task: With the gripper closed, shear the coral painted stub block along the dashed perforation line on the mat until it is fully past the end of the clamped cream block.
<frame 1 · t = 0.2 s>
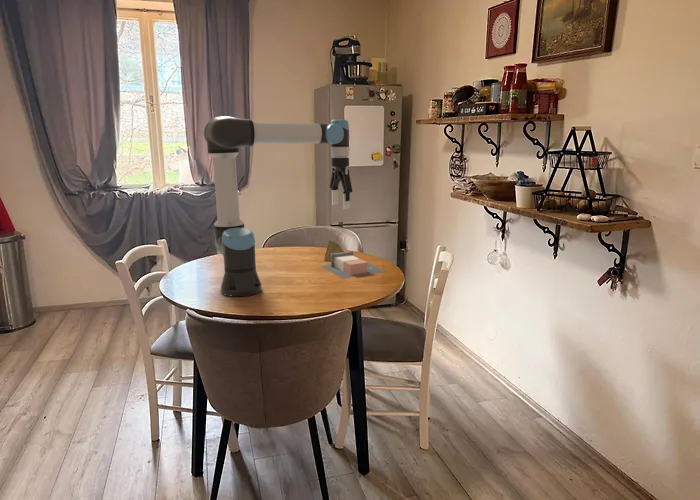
hand: (340, 206, 217), 27 cm above the table, fingers open, 13 cm apart
mat: (352, 270, 218), on the table
stub: (355, 272, 212), point 1 cm above the table, touching mat
clamped cream block: (345, 267, 220), resting on mat
rock: (336, 262, 234), on the table
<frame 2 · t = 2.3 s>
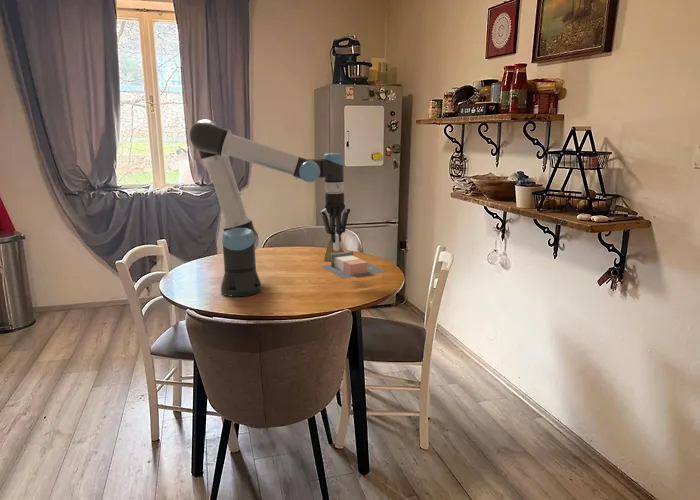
hand: (336, 249, 205), 12 cm above the table, fingers closed
nothing on the table moved.
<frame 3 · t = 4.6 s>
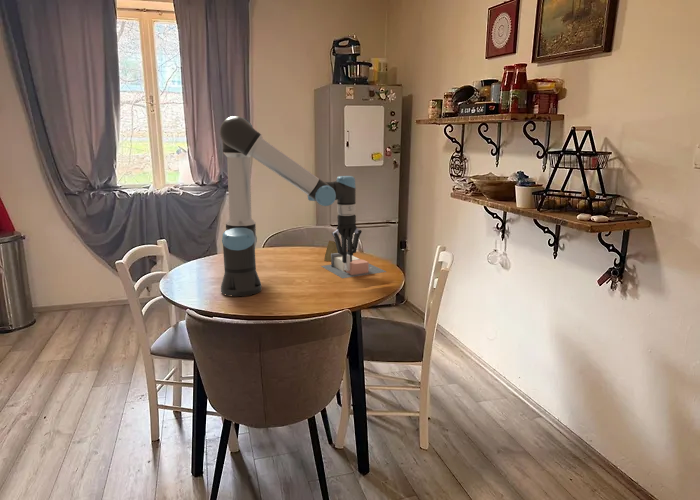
hand: (347, 269, 210), 3 cm above the table, fingers closed
stub: (357, 272, 212), point 1 cm above the table, touching gripper, mat
everything else where it was.
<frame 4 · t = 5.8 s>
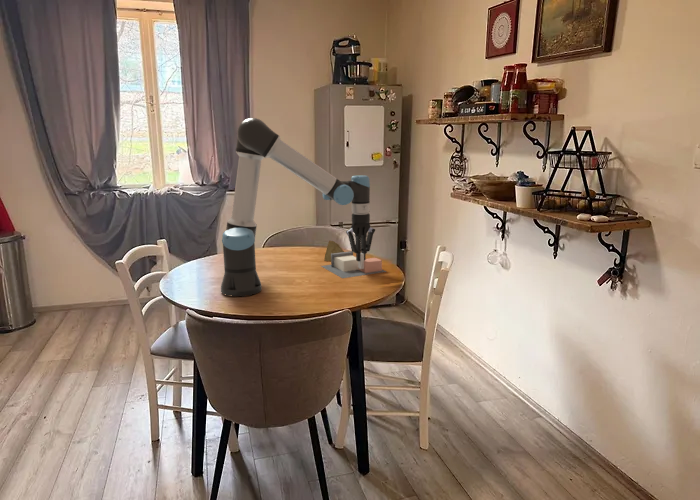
hand: (360, 268, 213), 3 cm above the table, fingers closed
stub: (370, 270, 215), point 1 cm above the table, touching gripper, mat
everything else where it was.
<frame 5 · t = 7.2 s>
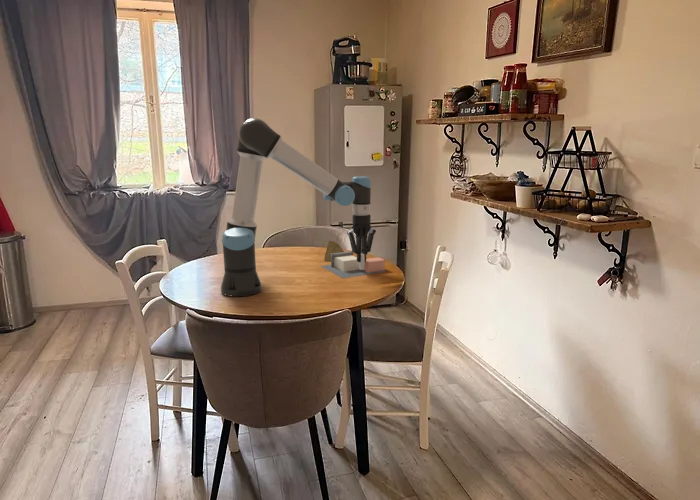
hand: (361, 268, 213), 2 cm above the table, fingers closed
stub: (373, 269, 216), point 1 cm above the table, touching mat
everything else where it was.
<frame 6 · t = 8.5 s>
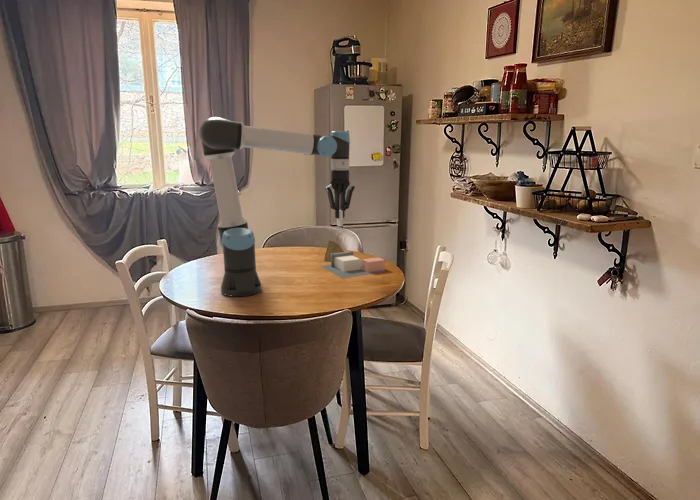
hand: (339, 225, 212), 20 cm above the table, fingers closed
nothing on the table moved.
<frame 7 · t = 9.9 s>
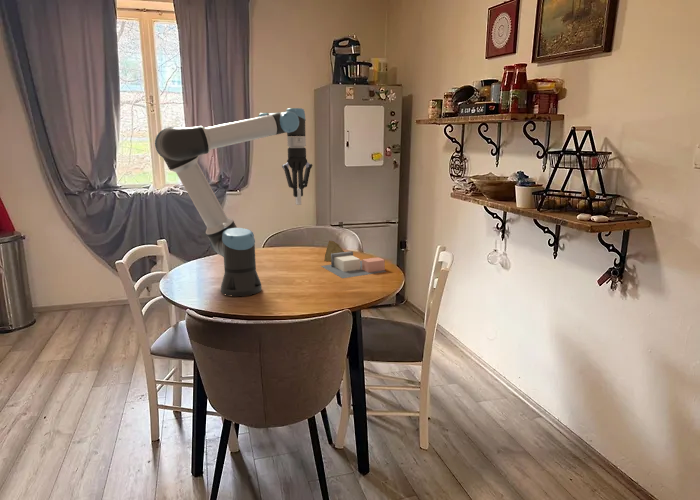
hand: (298, 204, 211), 29 cm above the table, fingers closed
nothing on the table moved.
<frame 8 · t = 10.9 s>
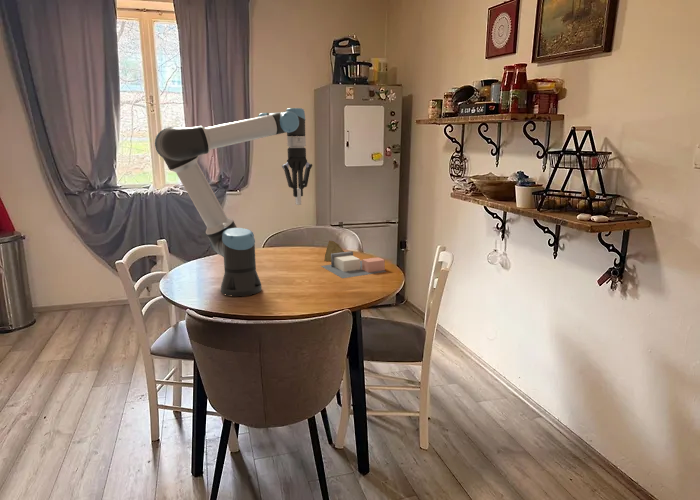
hand: (298, 204, 211), 29 cm above the table, fingers closed
nothing on the table moved.
at the end: stub inside the target area (2.5 cm from its centre), point 1.0 cm above the table; stub tilted 0°; stub touching mat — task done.
